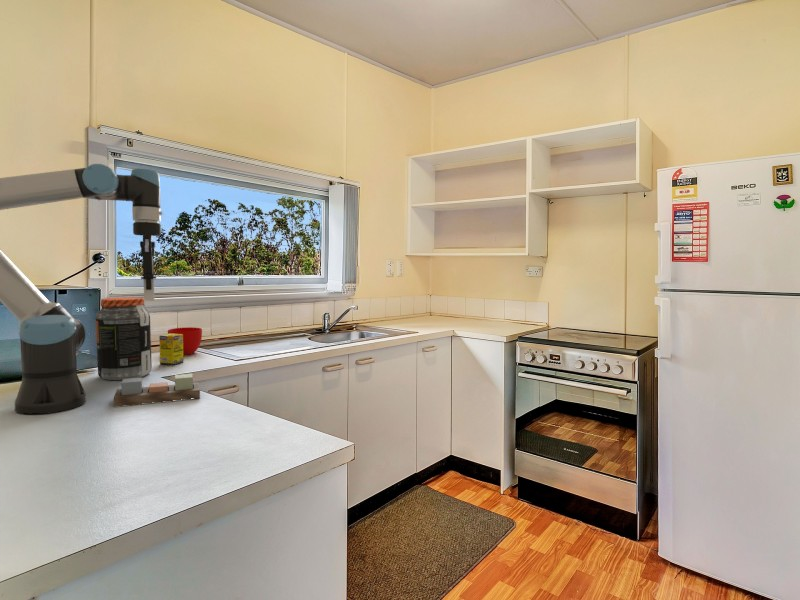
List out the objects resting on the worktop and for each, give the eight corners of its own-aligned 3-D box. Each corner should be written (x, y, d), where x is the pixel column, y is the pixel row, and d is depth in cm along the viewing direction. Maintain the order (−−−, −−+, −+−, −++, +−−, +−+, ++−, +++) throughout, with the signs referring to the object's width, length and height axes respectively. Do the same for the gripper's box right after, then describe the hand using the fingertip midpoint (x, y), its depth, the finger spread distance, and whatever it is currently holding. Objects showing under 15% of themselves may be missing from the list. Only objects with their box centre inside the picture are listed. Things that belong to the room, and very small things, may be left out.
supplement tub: (162, 372, 166) (160, 297, 164) (122, 383, 152) (119, 301, 150) (128, 368, 172) (125, 296, 170) (86, 378, 157) (82, 299, 155)
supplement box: (173, 365, 178) (173, 336, 177) (159, 364, 179) (158, 335, 178) (184, 362, 183) (183, 333, 183) (170, 361, 185) (169, 333, 184)
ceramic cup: (154, 357, 192) (153, 332, 191) (181, 349, 208) (180, 326, 208) (184, 359, 190) (183, 333, 189) (208, 351, 206) (208, 328, 205)
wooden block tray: (198, 390, 144) (198, 382, 144) (199, 398, 136) (199, 390, 136) (117, 398, 136) (117, 389, 135) (113, 407, 128) (113, 397, 127)
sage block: (192, 385, 142) (192, 373, 141) (193, 389, 137) (192, 377, 137) (175, 386, 140) (174, 375, 139) (175, 390, 135) (174, 378, 135)
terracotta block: (168, 394, 139) (167, 382, 139) (167, 398, 135) (167, 385, 134) (150, 395, 137) (149, 383, 137) (149, 399, 133) (148, 387, 133)
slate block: (142, 389, 136) (141, 377, 136) (141, 394, 132) (140, 381, 132) (123, 391, 134) (123, 379, 134) (121, 395, 130) (121, 382, 130)
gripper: (160, 221, 141) (162, 301, 143) (161, 224, 153) (163, 298, 155) (131, 220, 138) (133, 302, 140) (134, 223, 150) (137, 299, 152)
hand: (149, 300), depth 148 cm, fingers closed
